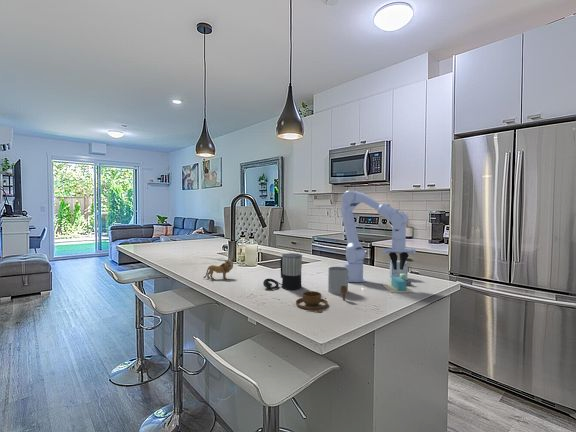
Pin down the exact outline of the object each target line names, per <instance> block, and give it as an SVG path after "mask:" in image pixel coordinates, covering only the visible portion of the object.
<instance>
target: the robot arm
mask: <svg viewBox="0 0 576 432" xmlns="http://www.w3.org/2000/svg"><path fill="white" fill-rule="evenodd" d="M361 203H363V204H364V205H367V206H368V207H370V208H373V209H375V210H376V211H377V214H378V215H379V216H381V217H382V218H385V219H386V220H388V221H389V222H390V223H391V227H392V228H391V229H392V230H391V234H392V235H391V248H381V254H385V255H386V254H388V255H389V257H390V261H392V264H393V269H394V270H397V261H398V256H399V261H400V269H401V270H403V267H404V264H405V262H407V259H408V258H409V255H410V254H414V255H415V254H416V248H406V241H407V240H406V235H407V234H406V233H407V227H406V225H407V222H408V221H409V217H408V215H407V213H405V212H404V211H399V210H400V209H397V208H394V207H392V206H391V204H390V203H380V202H378V201H377V200H375V199H374V198H372V197H370V196H369V195H367V194H366V193H364V192H361V191H360V190H348V189H347V190H346V191H344V193H343V194H342V195H341V206H340V213H341V218H342V221H343V227H344V232H345V236H346V240H347V245H346V247H345V251H346V252H345V259H346V262H343V266H342V267H345V268H348V283H366V280H365V279H364V260H365V258H366V255H367V254H366V250H365V249H364V247H363V244H362V243H361V242H360V241H359V236H358V231H357V227H356V222H355V219H354V212H353V211H354V209H355V208H356V207H357V206H358V205H359V204H361ZM397 254H399V255H397Z"/></svg>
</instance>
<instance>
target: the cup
mask: <svg viewBox="0 0 576 432" xmlns="http://www.w3.org/2000/svg"><path fill="white" fill-rule="evenodd" d="M327 276H328V278H327V279H328V280H327V281H328V284H327V285H328V286H327V288H328V290H327V291H328V293H329V294H331V295H343V294H342V293H341V286H347V293H346V294H349V282H348V268H345V267H343V266H331V267H328V275H327Z"/></svg>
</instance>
